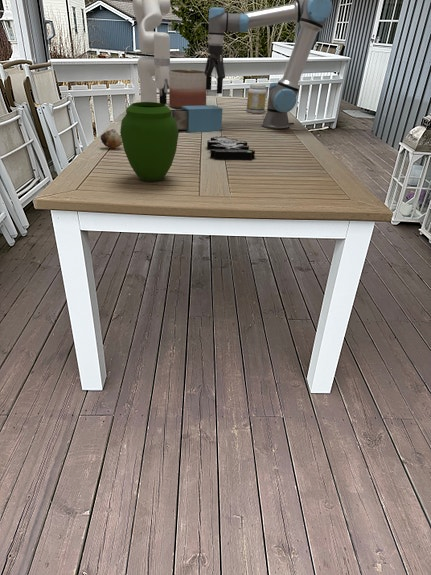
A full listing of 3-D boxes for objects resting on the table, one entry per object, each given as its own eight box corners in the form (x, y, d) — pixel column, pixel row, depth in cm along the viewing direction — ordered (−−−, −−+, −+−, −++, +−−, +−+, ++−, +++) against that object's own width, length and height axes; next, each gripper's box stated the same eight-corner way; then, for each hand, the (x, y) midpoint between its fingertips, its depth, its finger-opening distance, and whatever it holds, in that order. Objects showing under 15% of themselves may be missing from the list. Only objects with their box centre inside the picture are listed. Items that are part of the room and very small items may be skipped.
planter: (200, 104, 298) (200, 69, 286) (210, 110, 277) (212, 73, 266) (165, 104, 290) (165, 69, 278) (174, 110, 270) (173, 72, 258)
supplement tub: (247, 109, 285) (249, 83, 276) (264, 111, 283) (267, 84, 274) (245, 112, 274) (248, 84, 265) (264, 114, 273) (266, 86, 264)
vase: (131, 189, 135) (125, 110, 122) (118, 172, 150) (112, 100, 137) (186, 184, 142) (187, 109, 129) (169, 168, 157) (167, 99, 144)
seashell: (124, 147, 182) (123, 128, 178) (122, 150, 177) (120, 130, 173) (103, 146, 182) (101, 127, 178) (100, 149, 177) (98, 129, 173)
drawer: (159, 131, 209) (158, 112, 204) (154, 127, 216) (153, 109, 211) (201, 129, 218) (202, 110, 213) (195, 126, 225) (195, 107, 220)
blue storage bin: (188, 132, 215) (189, 109, 209) (181, 128, 223) (181, 106, 217) (221, 130, 222) (222, 108, 216) (213, 126, 230) (214, 105, 224)
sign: (211, 151, 170) (204, 135, 195) (211, 159, 172) (203, 142, 197) (256, 152, 172) (243, 136, 198) (255, 159, 174) (242, 143, 199)
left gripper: (150, 61, 202) (151, 101, 212) (159, 64, 191) (160, 106, 200) (164, 61, 205) (165, 101, 214) (174, 64, 193) (175, 106, 203)
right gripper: (198, 43, 212) (198, 88, 223) (219, 45, 193) (217, 95, 204) (212, 44, 215) (210, 88, 226) (233, 46, 196) (230, 94, 207)
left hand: (163, 103), depth 207 cm, fingers closed
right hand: (213, 91), depth 215 cm, fingers open, 13 cm apart
